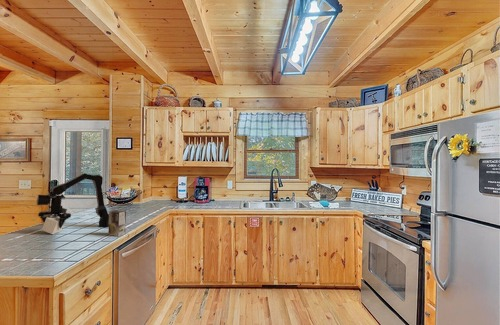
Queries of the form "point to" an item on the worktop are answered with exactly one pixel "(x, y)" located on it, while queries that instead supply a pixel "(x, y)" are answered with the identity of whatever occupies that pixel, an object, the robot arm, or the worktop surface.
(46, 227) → the beige cardboard box
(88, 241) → the worktop surface
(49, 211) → the robot arm
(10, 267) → the worktop surface
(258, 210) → the worktop surface
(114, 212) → the coffee box
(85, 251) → the worktop surface
